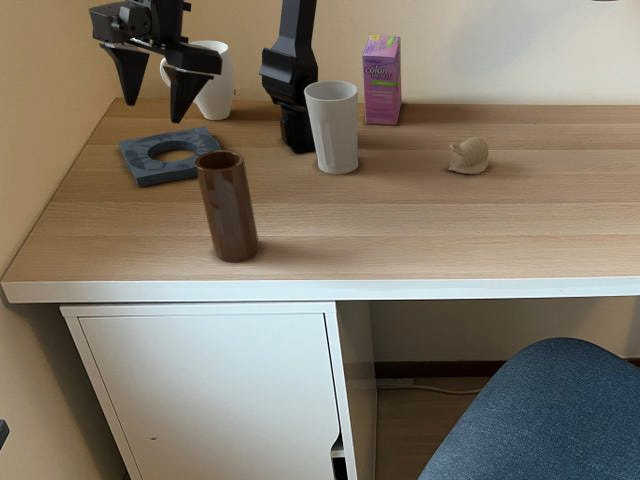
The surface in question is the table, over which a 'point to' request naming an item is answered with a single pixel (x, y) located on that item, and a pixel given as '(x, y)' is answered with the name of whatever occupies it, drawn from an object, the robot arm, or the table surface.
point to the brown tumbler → (228, 205)
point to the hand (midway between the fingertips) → (152, 114)
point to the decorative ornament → (470, 156)
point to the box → (382, 79)
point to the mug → (214, 84)
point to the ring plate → (146, 147)
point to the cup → (334, 124)
